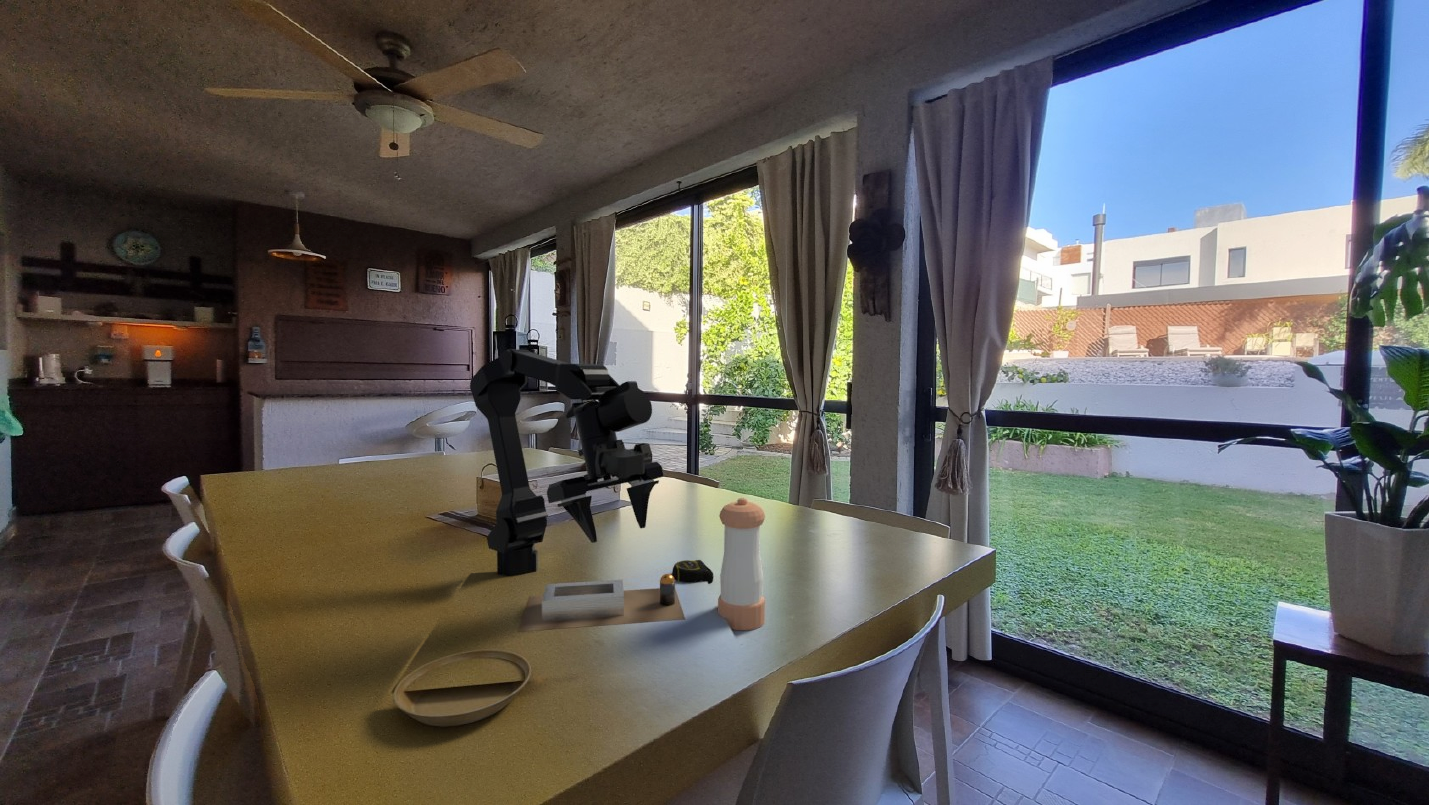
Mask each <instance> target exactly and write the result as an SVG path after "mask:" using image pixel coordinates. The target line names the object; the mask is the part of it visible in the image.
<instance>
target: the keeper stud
mask: <svg viewBox="0 0 1429 805" xmlns="http://www.w3.org/2000/svg"><path fill="white" fill-rule="evenodd" d="M659 588H660V604H661V605H663V606H671V605H674V604H675V589H676V580H675V579H674V577H673V576H672V574H671V573H664V574H663V575H662V576H660V579H659Z"/></svg>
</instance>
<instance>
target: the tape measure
mask: <svg viewBox="0 0 1429 805" xmlns="http://www.w3.org/2000/svg"><path fill="white" fill-rule="evenodd" d="M671 573H672V574H671V575H672V576H673V577H674V579H675V581H678V582H680V583H689V584H690V583H691V584H692V583H693V584H695V583H700V582H701V583H702V582H707V584H708V585H711V584H712V583H713V582H714V572H713V571H712V570H711V569H710V568H709V567H708V566H707V565H706V564H705V563H704V562H703V561H702V560H701V559H696V560H690V559H689V560H688V559H686V560H680V561H677V562H675V564H674V565H673V567H672V572H671Z"/></svg>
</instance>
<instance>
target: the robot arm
mask: <svg viewBox="0 0 1429 805" xmlns="http://www.w3.org/2000/svg"><path fill="white" fill-rule="evenodd" d="M528 377H530V378H533V379H535V380H539V381H542V382H544V383H547V384H550V385H553V387H554V388H555V389H556V391H557V392H558V393H560V394H561V395H563V396H564V397H565V398H568V399H569V400H580V401H588V402H585V403H584V402H572V404H571V407H570V408H569V410H568V411H567V412H566V416H565V418H566V419H575V421H576V426H577V432H578V435H579V440H580V445H581V449H579V450H577V452H578V455H579V456H578V457H580V458H581V457H583V459H584V464H585V468H586V473H587V474H584V475H581V476H578V477H572V478H568V479H563V480H560V481H556V482H553V483H551V484H550V483H549V486H548V487H547V490H546V495H547V502H548V504H552V503H556V504H557V508H561V507H562V508H563V509H564V510H565V511H566V512H567V513H568V514H569V515H570V516H571V518H572V519H573V520H574V521H575V522H576V523H577V525H578V526H579V527H580V529H581V530H582V532H583V533H584V534H585V536H586V537H587V539H588V540H589V541H590V543H592V544H594V543H597V542H598V537H597V530H596V527H595V526H596V525H595V521H594V517H593V514H592V509H591V504H592V497H593V496H592V495H586V494H587V492H592V491H596V490H599V489H605V488H608V487H613V486H617V485H618V486H619V485H623V484H627V483H628V484H629V485H630V487H627V488H626V491H627V495H628V497H629V501H630V504H631V507H632V510H633V513H634V517H635V520H636V522H637V525H638V528H640V529H645V528H647V526H646V524H647V517H648V516H647V515H648V508H649V502H650V500H649V499H650V495H651V492H652V490H653V489H654V487H655V485H657V484H659V483H660V479H659V478H663V477H665V473H664V469H663V466H662V465H661V464H660V463H659V462H658V461H653V452H652V448H651V446H650V443H646V442H642V443H636V444H634V446H633V448H629V449H628V448H626V447H625V443H624V441H623V439H618V436H617V433H620V432H623V431H625V430H629V429H631V428H634V427H636V426H639V425H643V424H645V423H648V422H649V421H650V419H651V417H652V415H653V406H652V402H651V400H650V399H649V397H648V396H647V394H646V392H644V391H643V390H642V389H640V388H639V386H638V382H637V381H636V380H634V381H633V380H631V381H629V380H627V381H625V382H622V383H621V384H619V383H618V382H617V381H616V380H615V379H614V378H613V377H612V376H611V374H609V371H608V367H606V366H605V365H604V364H601V363H598V364H597V363H569V362H565V361H562V360H558V359H555V358H551V357H548V356H546V355H545V356H544V355H542V354H539V353H534V352H532V351H530V350H529V349H516V348H515V349H513V348H508V349H506V350H503V351H502V352H501V353H500V355H499V356H497V358H495V359H493V360H491V361H490V362H488V363H486V364H483V365H482V366H481V367H480V368H479V369H478V370H477V372H475V373H474V375H473V377H472V378H471V380H470V383H469V388H470V392H471V395H472V398H473V402H474V404H475V407H476V408H477V409H478V411H480V414H482V415H483V416H484V417H485V419H486V420H487V423H488V428H489V433H490V440H491V443H492V444H491V445H492V449H493V454H494V459H495V465H496V469H497V475H498V480H499V485H500V486H499V487H500V490H501V498H500V499H499V503H498V505H497V508H496V510H495V516H496V518H495V519H496V523H495V524H494V526H493V528H492V529H491V530H490V532H488V534H487V536H486V542H487V546H488V549H490V550H493V551H496V564H497V565H496V570H497V572H496V575H498V576H499V575H503V576H506V577H507V576H508V577H517V576H522V575H526V574H532V573H536V572H537V570H538V569H539V561H538V560H539V556H538V555H539V551H538V549H535V544H538V543H539V544H540V543H543V541H544V538H545V537H544V536H545V533H546V528H547V526H548V518H547V517H549V514H548V512H547V508H546V505H545V503H546V502H545V497H544V496H543V495H542V494H540V495H537V494H536V493H535V492H534V491H533V490H532V488H531V487H530V482H529V477H528V472H527V467H526V462H525V457H524V452H523V451H524V450H523V447H522V443H521V436H520V432H519V427H518V421H517V416H516V412H517V410H518V408H519V405H520V402H521V400H522V397H521V390H522V389H523V388H524V387H525V386H526V385H527V384H528V382H529V379H528ZM602 479H603V480H602ZM656 479H658V480H656ZM598 480H599V481H598ZM557 502H560V503H557Z"/></svg>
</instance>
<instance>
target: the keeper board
mask: <svg viewBox="0 0 1429 805" xmlns="http://www.w3.org/2000/svg"><path fill="white" fill-rule="evenodd" d="M623 591H624V615H620V616H606V617H592V618H579V619H565V620H551V621H542V599H543V595H536V596H529V597H528V600H527V602H526V606H525V609H524V612H523V616H522V619H521V622H520V624H519V627H518V631H517V632H518V633H525V632H536V631H549V630H550V631H551V630H562V629H575V628H576V629H577V628H588V627H589V628H591V627H599V626H600V627H602V626H617V625H630V624H642V623H643V624H644V623H657V622H669V621H680V620H681V621H683V620H686V617H685V614H684V611H683V609H682V605H681V602H680V598H679V595H678V593H677V590H676V588H675V604H674V605H671V606H663V605H661V604H660V587H659V588H645V589H644V588H643V589H627V590H623Z"/></svg>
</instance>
